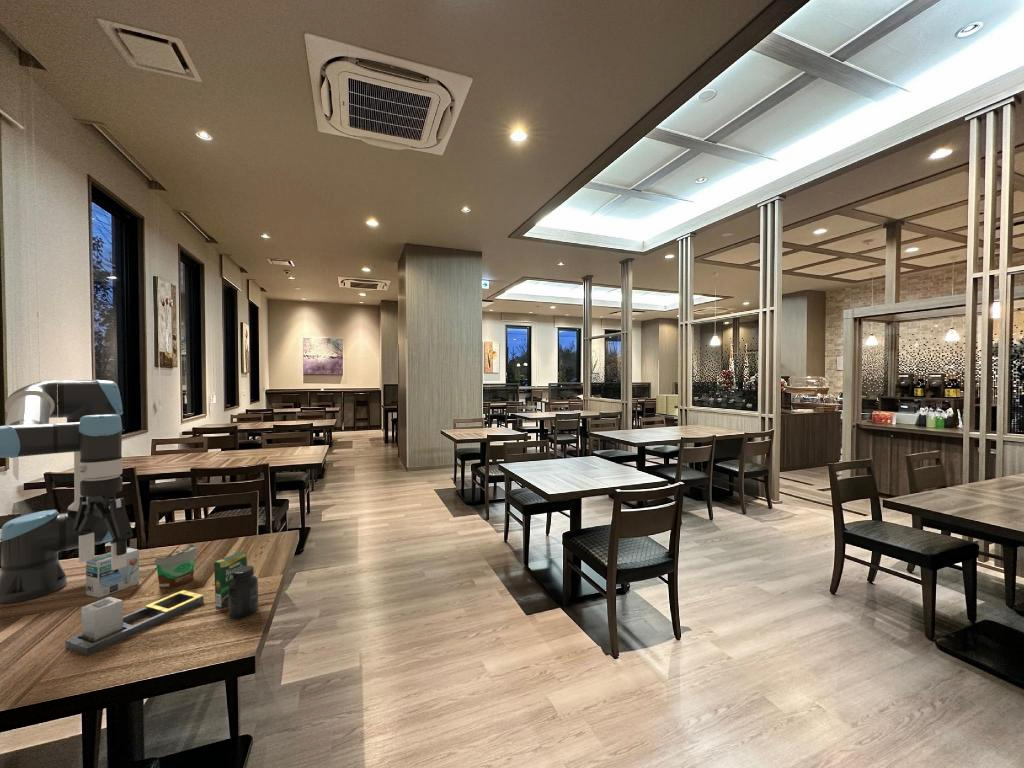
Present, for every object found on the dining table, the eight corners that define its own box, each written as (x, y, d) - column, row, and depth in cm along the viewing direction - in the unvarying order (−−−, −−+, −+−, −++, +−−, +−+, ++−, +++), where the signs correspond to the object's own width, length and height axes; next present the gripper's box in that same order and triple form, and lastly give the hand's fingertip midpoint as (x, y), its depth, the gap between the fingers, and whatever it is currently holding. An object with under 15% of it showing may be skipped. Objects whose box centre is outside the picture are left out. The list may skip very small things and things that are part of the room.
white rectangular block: (81, 644, 104) (81, 606, 104) (110, 632, 109) (109, 596, 109) (94, 649, 102) (94, 610, 102) (122, 636, 107) (122, 599, 107)
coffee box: (220, 610, 119) (220, 562, 119) (214, 608, 120) (213, 561, 120) (248, 596, 126) (248, 552, 126) (242, 594, 127) (241, 550, 127)
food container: (171, 593, 129) (170, 559, 129) (154, 591, 130) (154, 558, 130) (207, 575, 141) (207, 544, 141) (192, 573, 143) (191, 543, 143)
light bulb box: (99, 598, 126) (98, 562, 126) (84, 595, 129) (84, 559, 129) (140, 582, 136) (140, 548, 136) (126, 579, 139) (126, 546, 139)
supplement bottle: (254, 604, 122) (253, 561, 122) (261, 612, 117) (261, 568, 117) (225, 613, 117) (225, 569, 117) (232, 623, 112) (232, 577, 112)
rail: (65, 647, 102) (65, 639, 102) (183, 597, 126) (183, 590, 126) (86, 656, 99) (86, 647, 99) (203, 602, 123) (203, 595, 123)
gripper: (53, 477, 107) (54, 563, 106) (112, 484, 97) (114, 578, 97) (91, 471, 114) (92, 552, 113) (150, 477, 104) (151, 565, 104)
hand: (102, 564), depth 105 cm, fingers open, 13 cm apart
